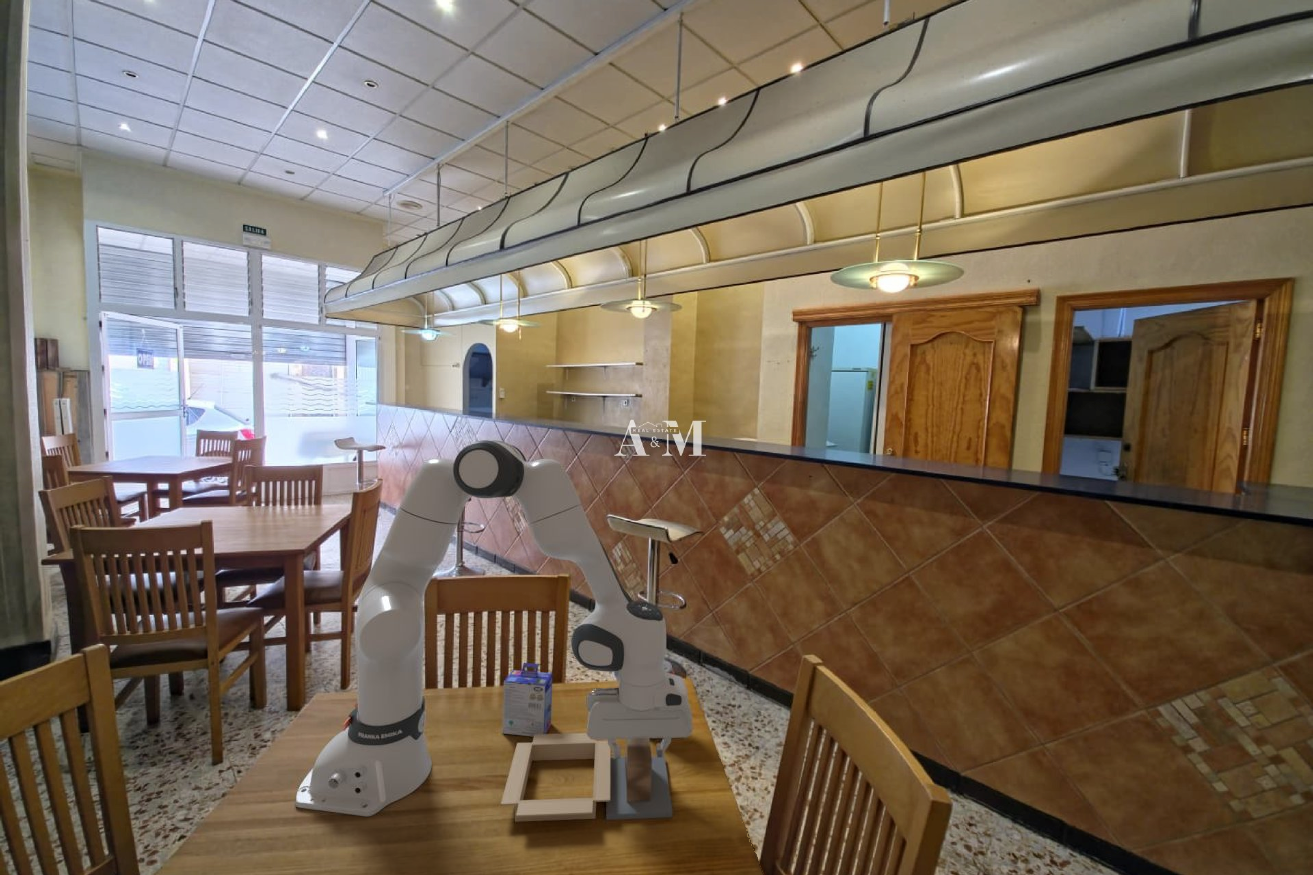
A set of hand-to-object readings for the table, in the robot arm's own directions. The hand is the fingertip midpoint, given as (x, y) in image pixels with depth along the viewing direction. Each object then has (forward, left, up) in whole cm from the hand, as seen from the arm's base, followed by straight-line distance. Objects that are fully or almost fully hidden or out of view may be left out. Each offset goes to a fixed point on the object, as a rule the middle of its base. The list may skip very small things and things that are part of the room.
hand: (638, 755), depth 95 cm
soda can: (+5, +17, -7) cm, 19 cm away
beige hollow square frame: (-15, +1, -7) cm, 16 cm away
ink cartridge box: (-24, +18, -7) cm, 31 cm away
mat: (0, 0, -7) cm, 7 cm away
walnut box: (0, 0, -6) cm, 6 cm away
